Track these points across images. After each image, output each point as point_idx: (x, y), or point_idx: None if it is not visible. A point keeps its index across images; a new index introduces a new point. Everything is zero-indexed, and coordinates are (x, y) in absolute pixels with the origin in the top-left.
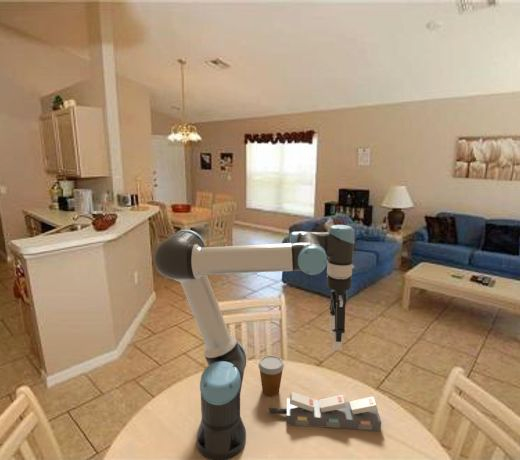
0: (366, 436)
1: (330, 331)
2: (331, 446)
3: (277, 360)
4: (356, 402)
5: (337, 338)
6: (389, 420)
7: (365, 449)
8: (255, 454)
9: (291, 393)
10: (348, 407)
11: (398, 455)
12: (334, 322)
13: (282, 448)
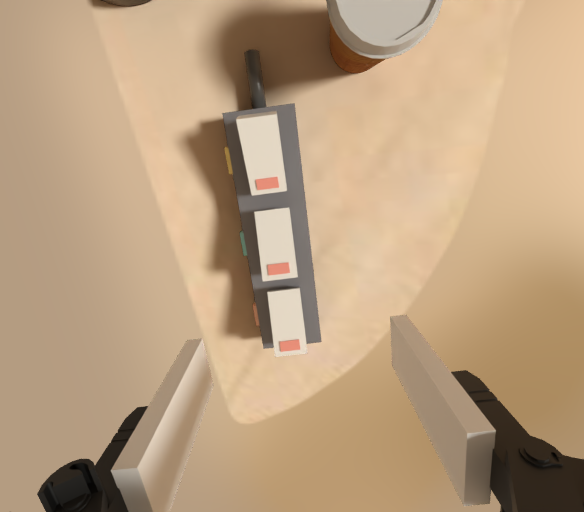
0: (242, 307)
1: (395, 332)
2: (193, 234)
3: (410, 15)
4: (292, 306)
5: (116, 441)
6: (301, 355)
7: (207, 302)
8: (107, 47)
9: (267, 115)
10: (294, 280)
11: (211, 358)
12: (429, 411)
13: (149, 118)
